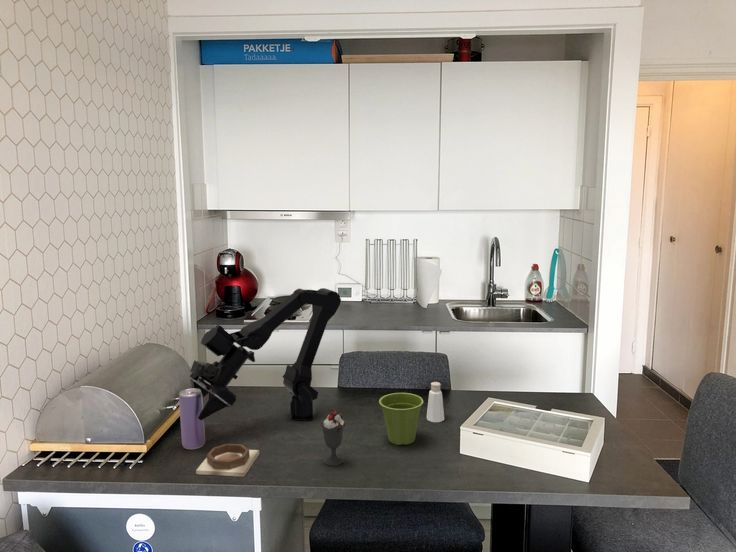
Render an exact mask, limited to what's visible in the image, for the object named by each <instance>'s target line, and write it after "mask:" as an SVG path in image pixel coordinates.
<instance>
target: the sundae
mask: <svg viewBox="0 0 736 552" xmlns="http://www.w3.org/2000/svg"><path fill="white" fill-rule="evenodd" d="M343 417H344V416H343V414H342V413H340V411H337V410H336V411H335V410H333V407H331V408H330V410H329V413H328V415H327V416H326V418H324V419H323V420H322V421H321V422H320V423H319V426H320V427H321V428H322V432H323V437H324V438H323V439H324V443H325V445H326V446H327V447H328V448H329V449H330V450H331V451H330V456H328V457H325V458H324V459H323V463H324V464H325V465H327V466H333V467H334V466H340V465H342V463H344V458H342V457H341V456H338V455H337V448H339V447H340V446H341V444H342V439H343V433H344V428H346V426H347V421H346V420H345V419H343Z"/></svg>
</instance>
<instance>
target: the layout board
mask: <svg viewBox="0 0 736 552" xmlns="http://www.w3.org/2000/svg"><path fill="white" fill-rule="evenodd" d="M259 455H260V450H259V449H249V448H248V447H246V446H245V445H244V444H241V443H224V444H221V445H218V446H214V447H212V448H211V450H210V451H209V452H208V453H207V454H206V458H205V459H204V460H203V461H202V463H201V464H200V465H199V466H198V467H197V468H196V470H195V474H196V475H203V476H204V475H206V476H224V477H243V478H244V477H245V476H246V474H248V472H249V470H250V469H251V467H252V465H253V464H254V462H255V461H256V459H257V458H258V456H259Z"/></svg>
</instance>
